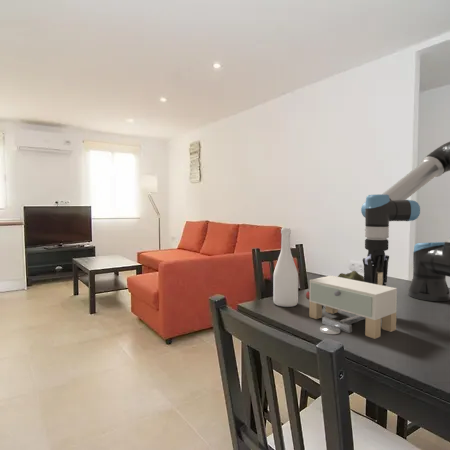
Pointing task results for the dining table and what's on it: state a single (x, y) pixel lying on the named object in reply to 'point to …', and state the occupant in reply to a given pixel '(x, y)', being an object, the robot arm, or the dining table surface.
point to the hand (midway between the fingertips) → (375, 304)
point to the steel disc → (330, 329)
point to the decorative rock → (352, 276)
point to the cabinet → (355, 301)
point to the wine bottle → (285, 275)
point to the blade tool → (345, 323)
